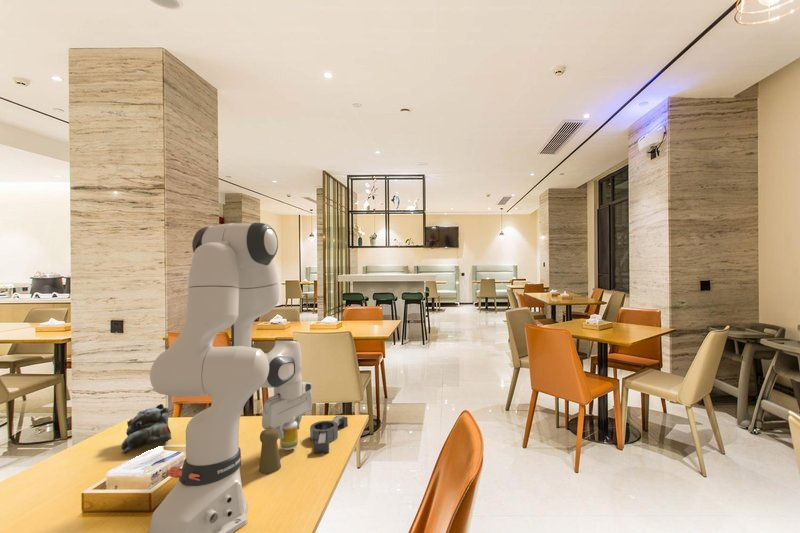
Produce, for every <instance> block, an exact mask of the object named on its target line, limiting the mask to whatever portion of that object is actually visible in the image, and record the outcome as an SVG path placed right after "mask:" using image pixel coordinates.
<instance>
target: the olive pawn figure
mask: <svg viewBox="0 0 800 533" xmlns="http://www.w3.org/2000/svg"><path fill="white" fill-rule="evenodd" d="M278 437H279V432H278V431H277V429H274V428H269V429H263V430H262V431H261V432H260V435H259V441H260V442H261V450H260V458H259V467H258V472H259V473H260V474H263V475H268V474H273V473H276V472H278V471H279V470H281V468H282V465H281V464H282V463H281V458H280V452H279V445H278V440H279V438H278Z"/></svg>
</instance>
